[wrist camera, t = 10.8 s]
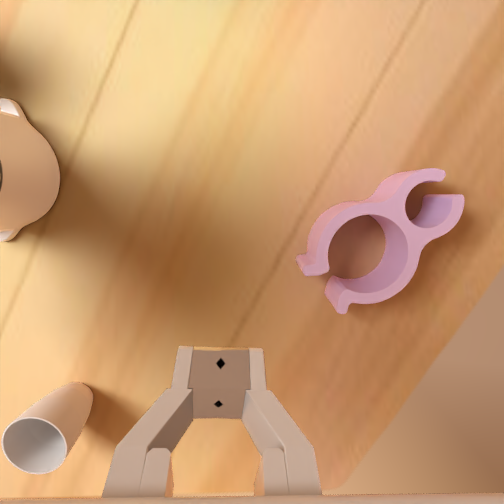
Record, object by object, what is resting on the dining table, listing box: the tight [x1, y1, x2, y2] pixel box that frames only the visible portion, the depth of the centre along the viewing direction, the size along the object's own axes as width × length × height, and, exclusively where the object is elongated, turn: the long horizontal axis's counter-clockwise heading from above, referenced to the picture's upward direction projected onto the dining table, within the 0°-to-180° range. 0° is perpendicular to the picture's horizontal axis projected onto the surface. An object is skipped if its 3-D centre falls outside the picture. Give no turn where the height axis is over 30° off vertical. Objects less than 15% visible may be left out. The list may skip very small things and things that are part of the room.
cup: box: [1, 382, 93, 474], centre depth 45 cm, size 8×8×10 cm
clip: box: [296, 168, 464, 314], centre depth 42 cm, size 20×12×7 cm, turn 132°
